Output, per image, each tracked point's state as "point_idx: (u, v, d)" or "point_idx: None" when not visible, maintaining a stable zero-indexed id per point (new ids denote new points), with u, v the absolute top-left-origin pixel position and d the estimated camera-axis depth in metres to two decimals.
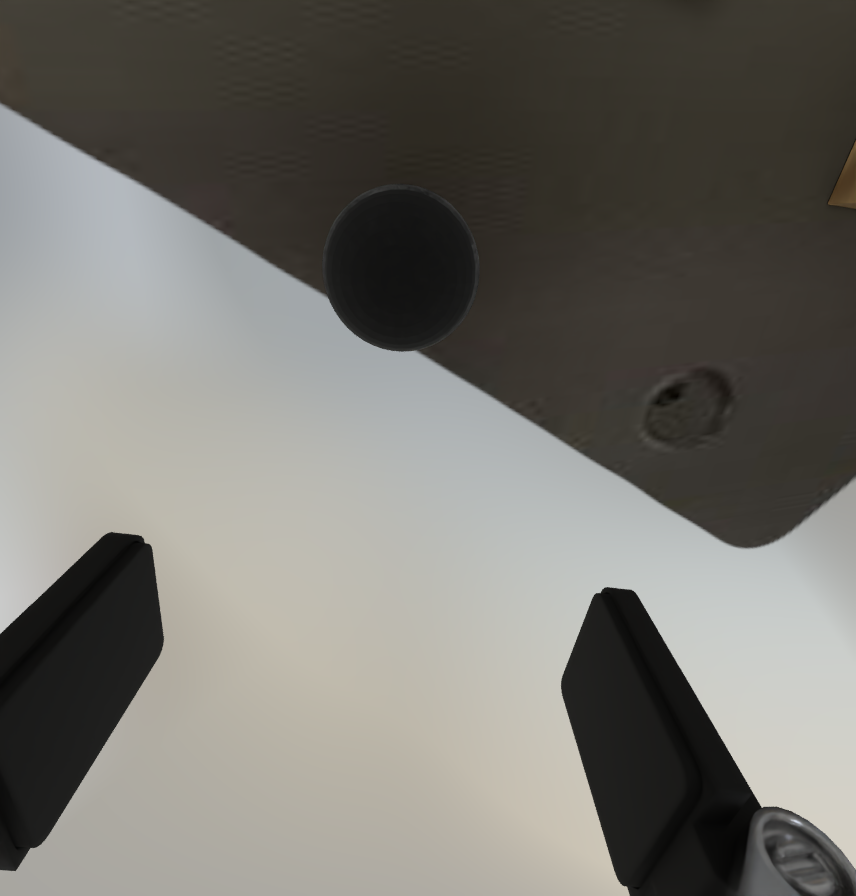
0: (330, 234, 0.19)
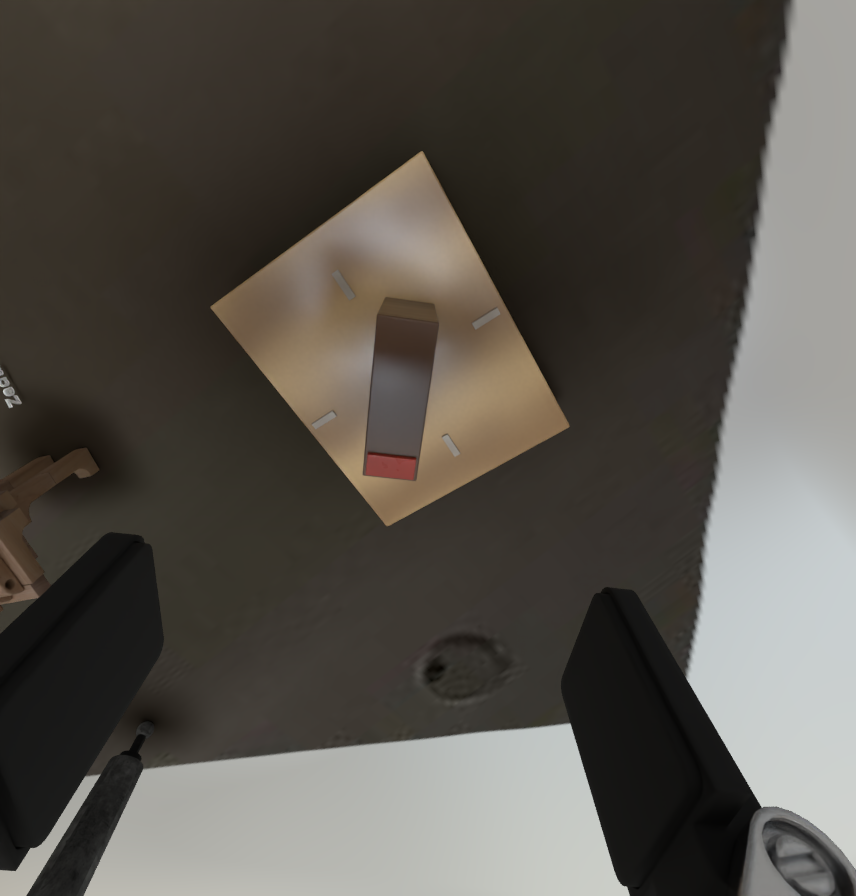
0: None
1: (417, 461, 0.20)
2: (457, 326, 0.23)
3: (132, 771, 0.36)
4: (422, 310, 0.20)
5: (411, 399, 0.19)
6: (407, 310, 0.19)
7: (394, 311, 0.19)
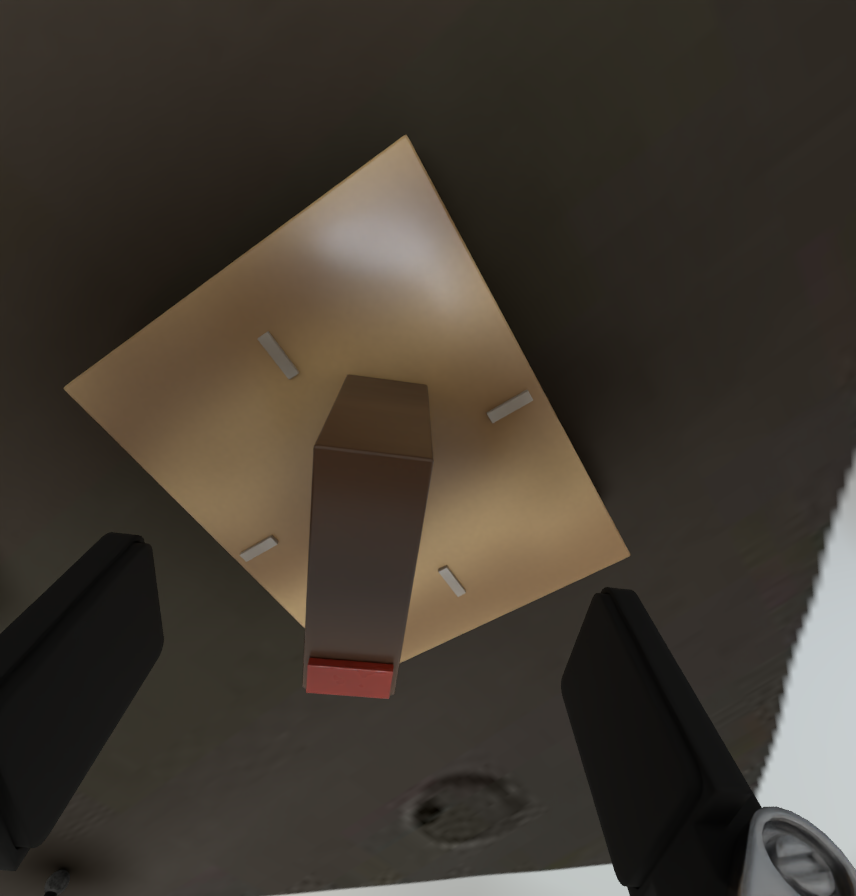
0: None
1: (395, 668, 0.12)
2: (464, 417, 0.14)
3: None
4: (405, 412, 0.11)
5: (383, 582, 0.11)
6: (377, 417, 0.11)
7: (352, 426, 0.10)
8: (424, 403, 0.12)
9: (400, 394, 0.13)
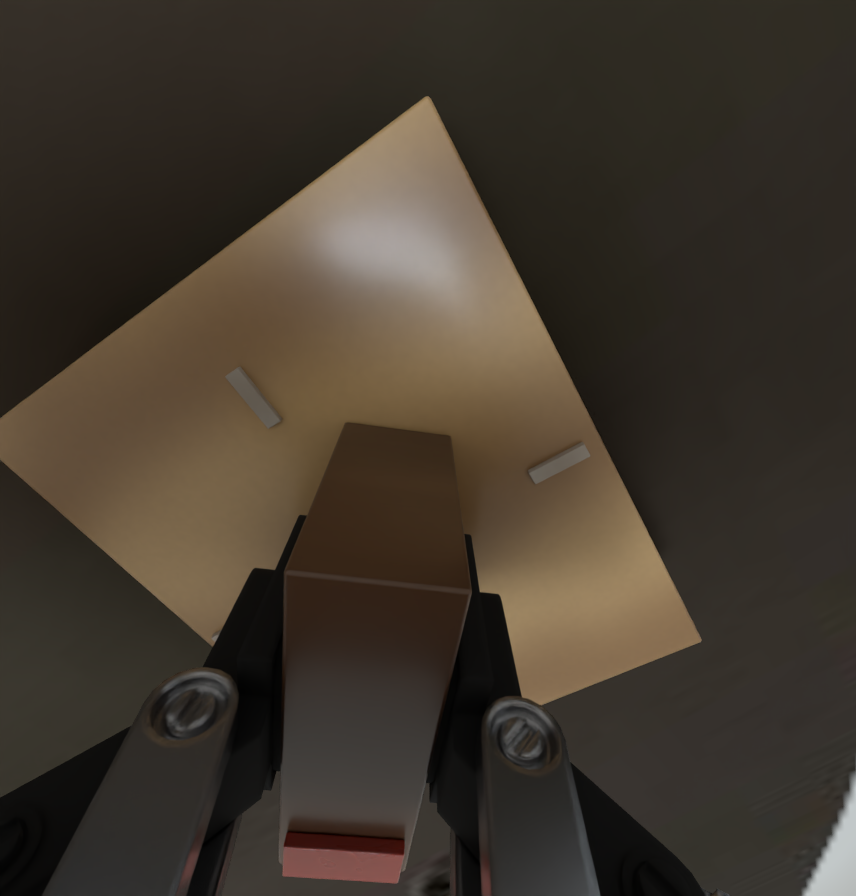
0: None
1: (407, 844, 0.08)
2: (498, 476, 0.11)
3: None
4: (424, 490, 0.08)
5: (391, 746, 0.07)
6: (385, 501, 0.08)
7: (346, 523, 0.07)
8: (449, 470, 0.09)
9: (416, 455, 0.09)
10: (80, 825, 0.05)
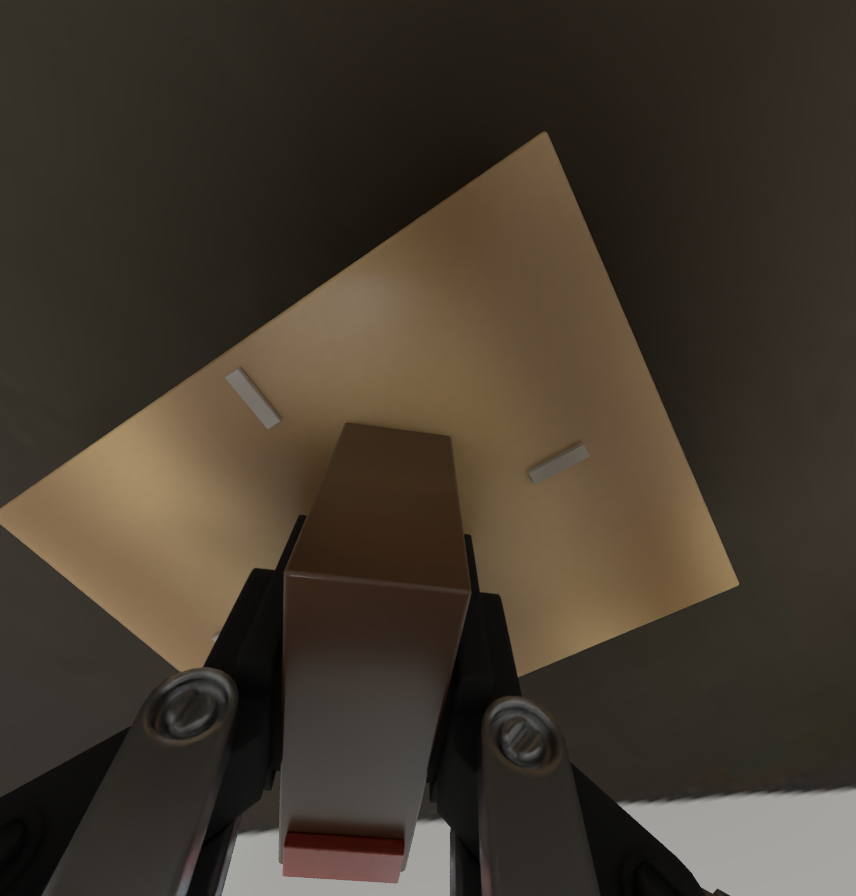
0: None
1: (407, 844, 0.08)
2: None
3: None
4: (423, 490, 0.08)
5: (391, 746, 0.07)
6: (385, 502, 0.08)
7: (346, 524, 0.07)
8: (449, 470, 0.09)
9: (415, 455, 0.09)
10: (80, 825, 0.05)
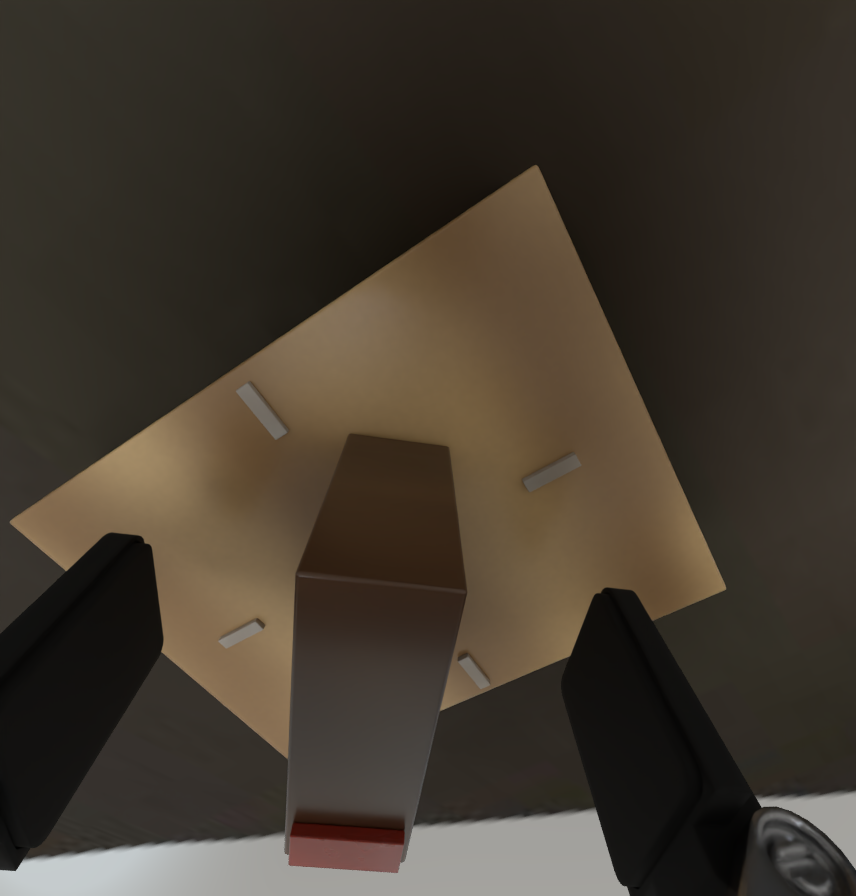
0: None
1: (407, 835, 0.09)
2: (462, 635, 0.14)
3: None
4: (423, 498, 0.09)
5: (392, 737, 0.08)
6: (387, 509, 0.08)
7: (352, 529, 0.07)
8: (447, 479, 0.09)
9: (416, 465, 0.10)
10: None
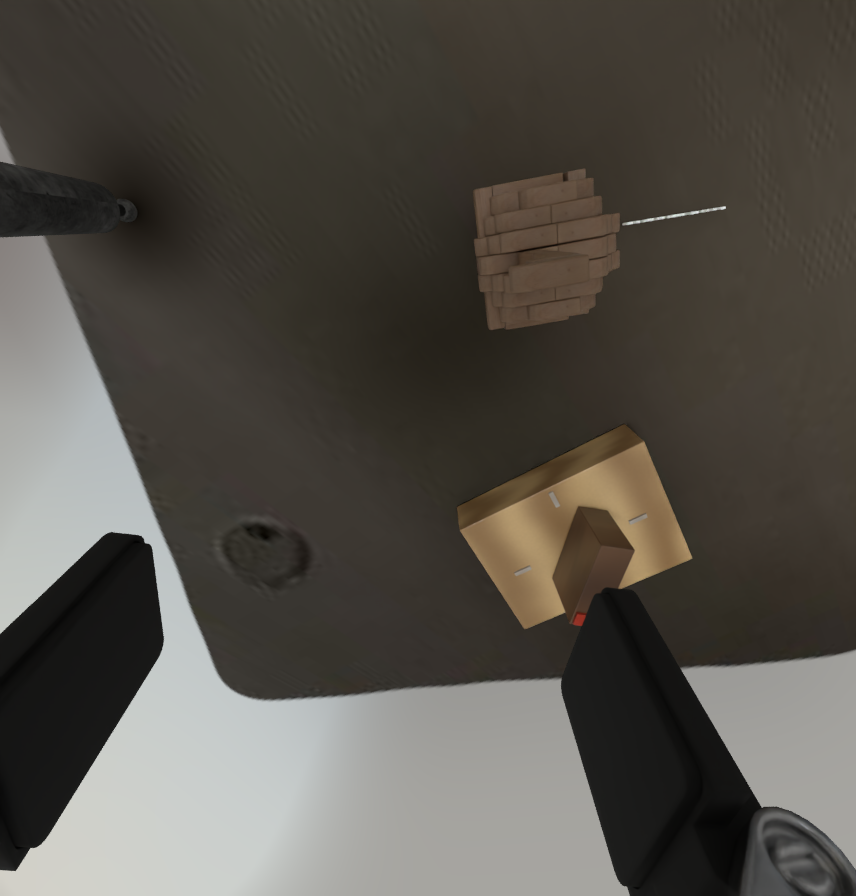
0: None
1: None
2: None
3: (104, 229, 0.26)
4: (613, 528, 0.33)
5: (609, 586, 0.32)
6: (607, 531, 0.33)
7: (603, 536, 0.32)
8: (614, 522, 0.34)
9: (604, 517, 0.34)
10: None
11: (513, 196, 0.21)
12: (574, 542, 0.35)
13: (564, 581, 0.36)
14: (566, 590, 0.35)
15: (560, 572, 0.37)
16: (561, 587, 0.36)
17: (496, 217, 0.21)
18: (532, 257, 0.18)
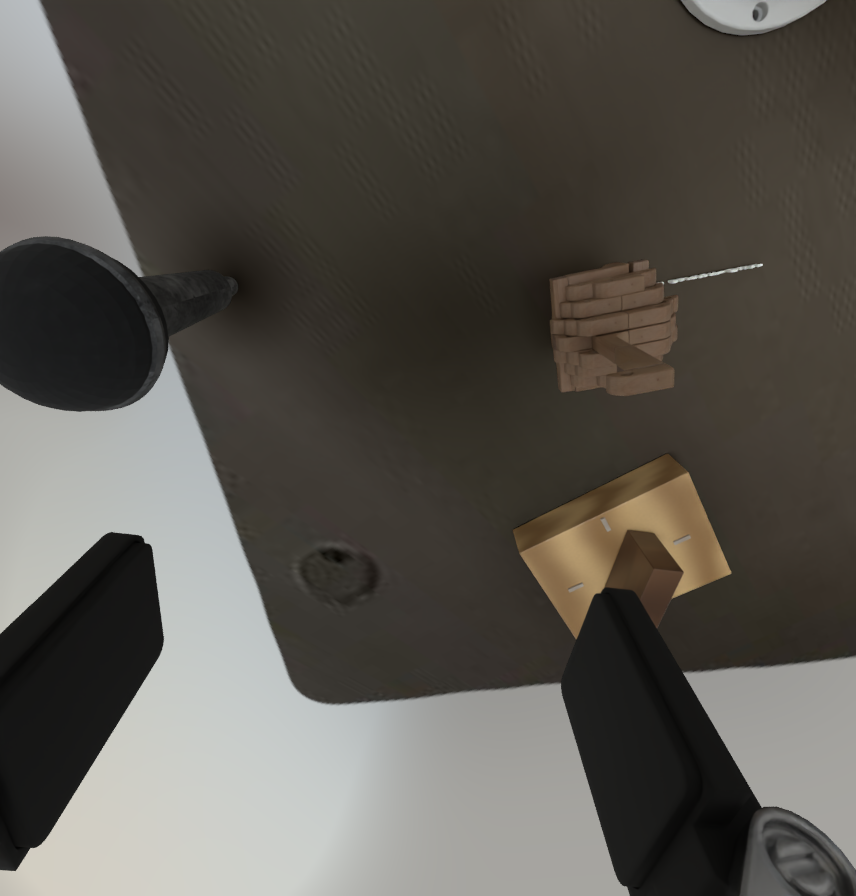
0: (23, 243, 0.17)
1: None
2: None
3: (220, 310, 0.30)
4: (661, 551, 0.37)
5: (660, 603, 0.36)
6: (656, 554, 0.36)
7: (654, 559, 0.36)
8: (662, 545, 0.38)
9: (652, 540, 0.38)
10: None
11: (588, 287, 0.25)
12: (624, 563, 0.39)
13: None
14: None
15: None
16: None
17: (573, 305, 0.25)
18: (613, 349, 0.22)
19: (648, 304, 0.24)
